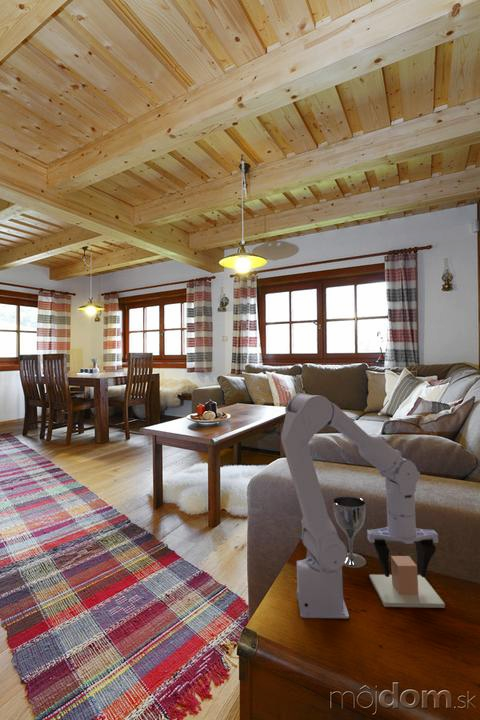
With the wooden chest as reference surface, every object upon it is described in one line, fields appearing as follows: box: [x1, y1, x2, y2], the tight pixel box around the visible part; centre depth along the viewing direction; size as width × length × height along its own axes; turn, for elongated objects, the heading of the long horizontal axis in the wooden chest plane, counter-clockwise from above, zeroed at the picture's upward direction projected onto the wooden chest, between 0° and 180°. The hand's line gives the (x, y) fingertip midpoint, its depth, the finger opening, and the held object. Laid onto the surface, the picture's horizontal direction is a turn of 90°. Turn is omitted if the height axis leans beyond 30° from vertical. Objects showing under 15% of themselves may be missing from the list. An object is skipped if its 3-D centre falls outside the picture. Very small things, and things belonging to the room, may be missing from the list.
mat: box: [369, 574, 446, 609], centre depth 76 cm, size 12×10×1 cm
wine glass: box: [332, 495, 367, 569], centre depth 89 cm, size 8×8×15 cm
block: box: [390, 555, 419, 595], centre depth 76 cm, size 4×4×6 cm
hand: (403, 574), depth 76 cm, fingers open, 7 cm apart
